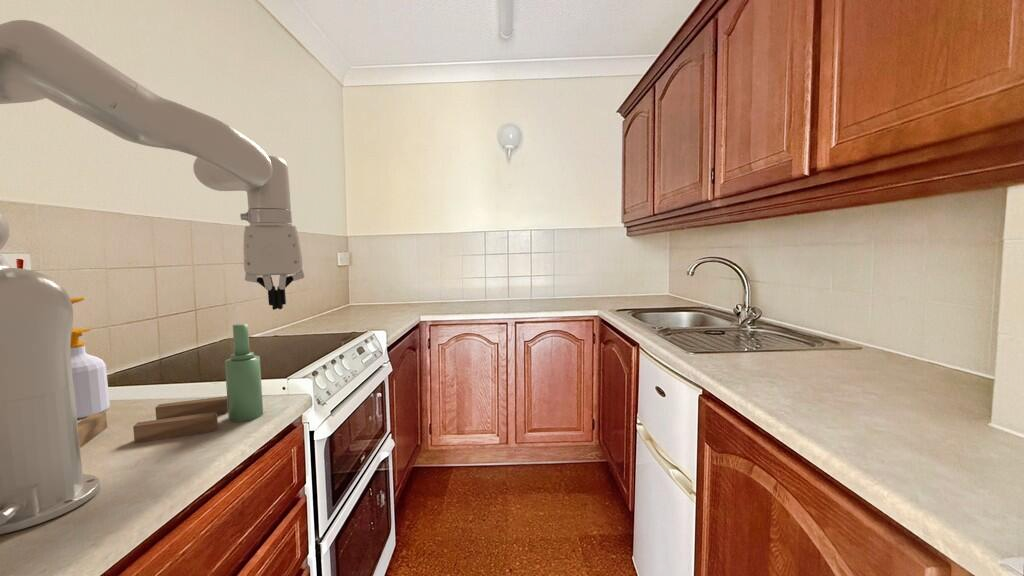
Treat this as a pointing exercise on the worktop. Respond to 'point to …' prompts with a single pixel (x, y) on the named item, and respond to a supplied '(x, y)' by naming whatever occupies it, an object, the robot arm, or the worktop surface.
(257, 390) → the bottle
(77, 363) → the soap bottle
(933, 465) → the worktop surface
